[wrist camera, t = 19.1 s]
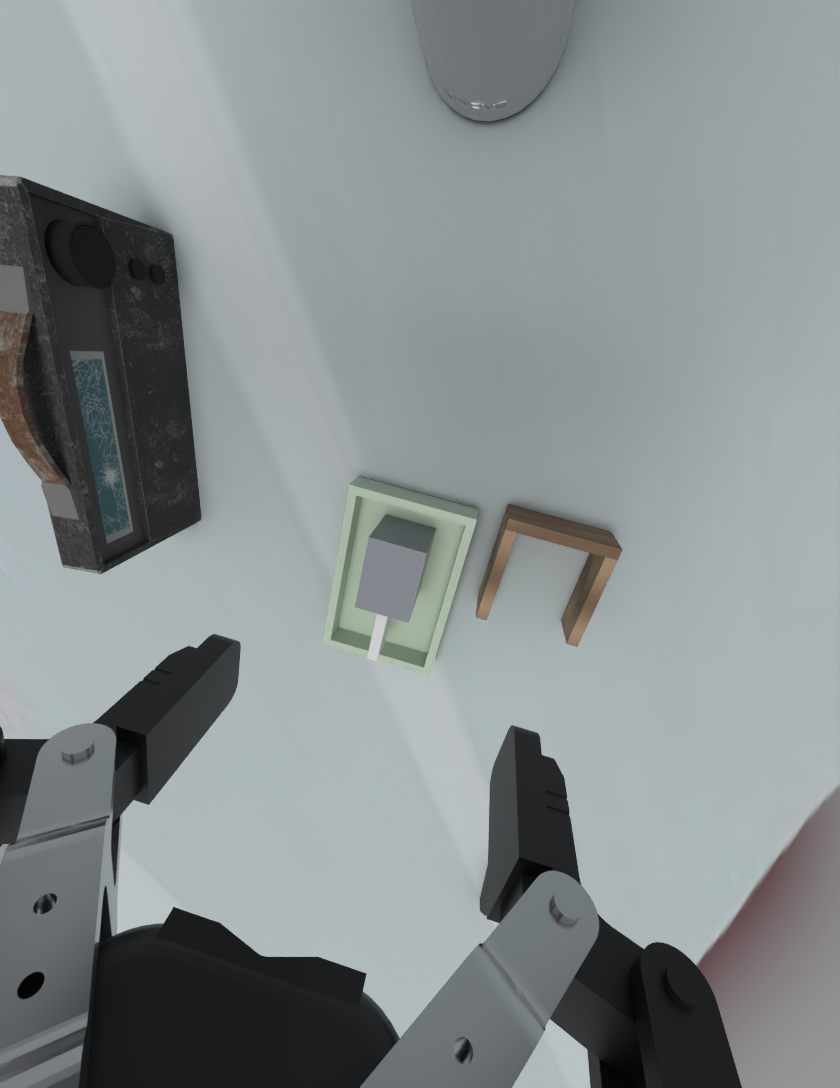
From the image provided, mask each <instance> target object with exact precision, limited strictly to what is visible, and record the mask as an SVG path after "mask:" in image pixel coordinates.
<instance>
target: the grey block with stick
mask: <svg viewBox="0 0 840 1088" xmlns="http://www.w3.org/2000/svg"><path fill="white" fill-rule="evenodd" d="M435 532H436V528H434V527H430V526H427V525H423V524H420V523H416V522H413V521H409V520H405V519H402V518H398V517H395V516H391V515H388V514H385V516H384V517H383V518H382V520H381V521H380V522H379V524H378V525H377V526H376V528H375V529H374V531H373V532H372V533H371V535H370V536H369V538H368V543H367V548H366V553H365V558H364V563H363V568H362V573H361V578H360V583H359V588H358V593H357V598H356V603H355V607H356V608H359V609H363V610H366V611H369V612H373V613H376V614H377V615H376V620H375V624H374V629H373V633H372V638H371V642H370V646H369V651H368V655H367V659H370V660H373V661H377V660H378V658H379V655H380V653H381V650H382V648H383V645H384V643H385V640H386V638H387V634H388V630H389V626H390V622H391V618H393V619H397V620H400V621H403V622H407V623H409V621H410V618H411V615H412V612H413V609H414V606H415V603H416V600H417V598H418V595H419V592H420V588H421V585H422V581H423V577H424V573H425V570H426V566H427V562H428V558H429V555H430V551H431V547H432V543H433V540H434V536H435Z"/></svg>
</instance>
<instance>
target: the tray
mask: <svg viewBox="0 0 840 1088" xmlns="http://www.w3.org/2000/svg"><path fill="white" fill-rule="evenodd" d="M385 514H388V515H391V516H395V517H398V518H402V519H405V520H409V521H413V522H416V523H420V524H423V525H427V526H430V527H434V528H436V532H435V536H434V540H433V543H432V547H431V551H430V555H429V558H428V562H427V566H426V570H425V573H424V577H423V581H422V585H421V588H420V592H419V595H418V598H417V600H416V603H415V606H414V609H413V612H412V615H411V618H410V621H409V623H407V622H403V621H400V620H397V619H393V618H391V622H390V626H389V630H388V634H387V638H386V640H385V643H384V645H383V648H382V650H381V653H380V655H379V658H378V661H381V662H385V663H388V664H391V665H395V666H398V667H401V668H405V669H408V670H411V671H415V672H418V673H421V674H425V675H428V676H430V673H431V670H432V666H433V663H434V660H435V656H436V653H437V650H438V647H439V643H440V640H441V637H442V633H443V630H444V627H445V624H446V620H447V617H448V614H449V610H450V607H451V604H452V601H453V597H454V594H455V591H456V587H457V584H458V581H459V577H460V574H461V571H462V568H463V564H464V561H465V558H466V554H467V551H468V548H469V545H470V541H471V538H472V535H473V531H474V528H475V525H476V521H477V516H478V509H476V508H472V507H469V506H465V505H461V504H458V503H454V502H451V501H447V500H443V499H440V498H436V497H432V496H429V495H425V494H421V493H418V492H414V491H410V490H407V489H403V488H399V487H396V486H392V485H389V484H385V483H381V482H378V481H374V480H370V479H367V478H363V477H358V478H356V479H355V480H354V481H353V482H352V483H350V484H349V488H348V494H347V500H346V506H345V512H344V518H343V524H342V530H341V536H340V541H339V547H338V553H337V559H336V565H335V571H334V577H333V583H332V589H331V595H330V601H329V606H328V612H327V618H326V624H325V630H324V636H323V642H322V644H325V645H328V646H331V647H335V648H338V649H341V650H345V651H348V652H351V653H355V654H358V655H361V656H365V657H367V655H368V651H369V646H370V642H371V638H372V633H373V629H374V624H375V620H376V615H377V614H376V613H373V612H369V611H366V610H363V609H359V608H356V607H355V603H356V598H357V593H358V588H359V583H360V578H361V573H362V568H363V563H364V558H365V553H366V548H367V543H368V538H369V536H370V535H371V533H372V532H373V531H374V529H375V528H376V526H377V525H378V524H379V522H380V521H381V520H382V518H383V517H384V516H385Z"/></svg>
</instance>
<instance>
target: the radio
mask: <svg viewBox="0 0 840 1088" xmlns="http://www.w3.org/2000/svg"><path fill="white" fill-rule="evenodd" d="M0 418H1V420H2V422H3V424H4V426H5V428H6V430H7V432H8V434H9V436H10V438H11V441H12V442H13V443H14V445H15V446H16V448H17V449H18V450H19V452H20V453H21V455H22V456H23V458H24V459H25V460H26V462H27V463H28V464H29V466H30V467H31V468H32V469H33V471H34V472H35V473H36V474H37V476H38V477H39V478H40V479H41V480H42V485H41V486H42V489H43V492H44V495H45V498H46V500H47V504H48V508H49V512H50V517H51V521H52V525H53V529H54V533H55V537H56V541H57V545H58V550H59V554H60V558H61V562H62V566H63V567H65V568H71V569H76V570H82V571H87V572H93V573H98V574H102V573H104V572H106V571H108V570H109V569H111V568H113V567H115V566H117V565H119V564H121V563H122V562H124V561H126V560H128V559H130V558H132V557H134V556H135V555H137V554H139V553H141V552H143V551H145V550H147V549H148V548H150V547H152V546H154V545H156V544H158V543H160V542H161V541H163V540H165V539H167V538H169V537H171V536H173V535H174V534H176V533H178V532H180V531H182V530H184V529H186V528H187V527H189V526H191V525H193V524H195V523H197V522H199V521H200V520H201V509H200V499H199V489H198V479H197V469H196V460H195V450H194V440H193V430H192V420H191V410H190V400H189V390H188V380H187V370H186V360H185V350H184V340H183V330H182V320H181V310H180V300H179V290H178V280H177V270H176V260H175V250H174V240H173V236H172V235H171V234H170V233H167V232H165V231H162V230H159V229H157V228H154V227H151V226H149V225H146V224H143V223H141V222H138V221H136V220H133V219H130V218H128V217H125V216H122V215H120V214H117V213H114V212H112V211H109V210H107V209H104V208H101V207H99V206H96V205H93V204H91V203H88V202H85V201H83V200H80V199H78V198H75V197H72V196H70V195H67V194H64V193H62V192H59V191H57V190H54V189H51V188H49V187H46V186H43V185H41V184H38V183H35V182H33V181H30V180H28V179H25V178H22V177H16V176H3V175H0Z"/></svg>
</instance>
